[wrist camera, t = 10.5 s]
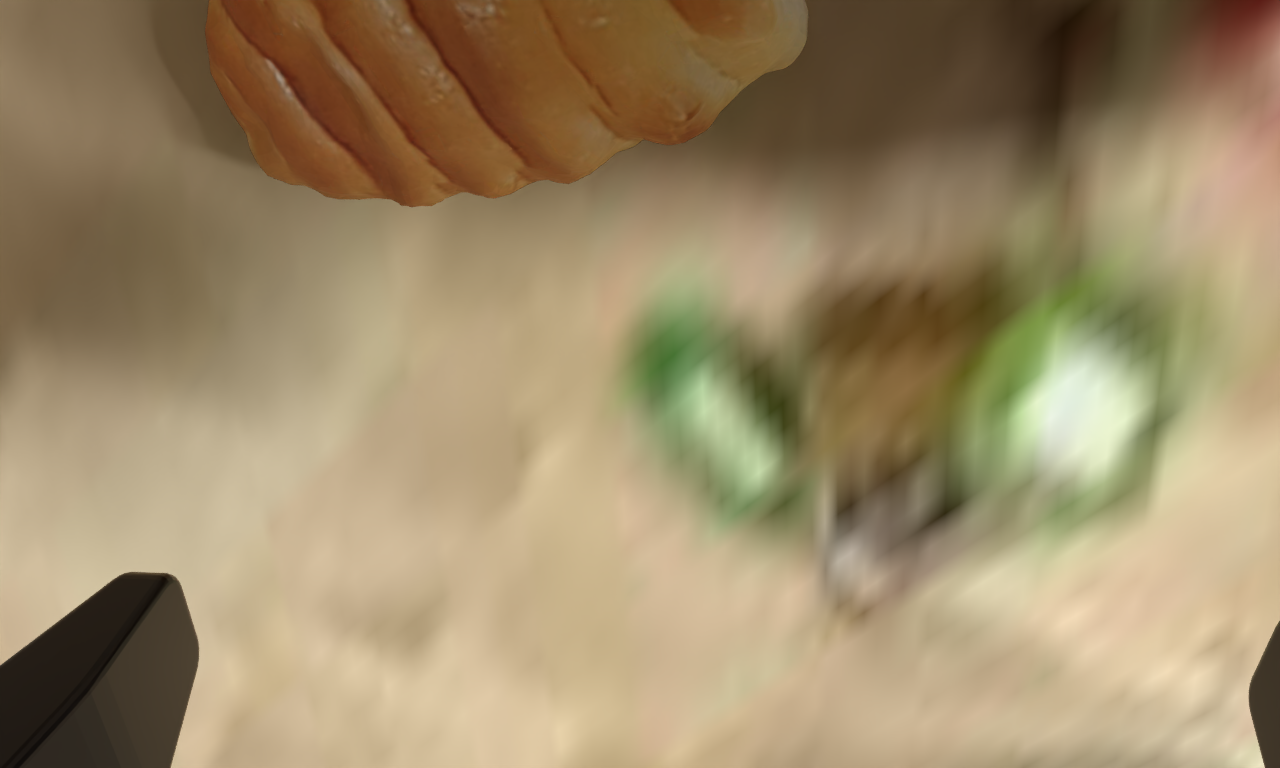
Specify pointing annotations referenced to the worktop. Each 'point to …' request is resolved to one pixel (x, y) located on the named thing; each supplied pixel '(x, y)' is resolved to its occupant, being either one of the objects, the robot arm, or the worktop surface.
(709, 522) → the worktop surface
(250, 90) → the pastry
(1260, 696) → the robot arm
